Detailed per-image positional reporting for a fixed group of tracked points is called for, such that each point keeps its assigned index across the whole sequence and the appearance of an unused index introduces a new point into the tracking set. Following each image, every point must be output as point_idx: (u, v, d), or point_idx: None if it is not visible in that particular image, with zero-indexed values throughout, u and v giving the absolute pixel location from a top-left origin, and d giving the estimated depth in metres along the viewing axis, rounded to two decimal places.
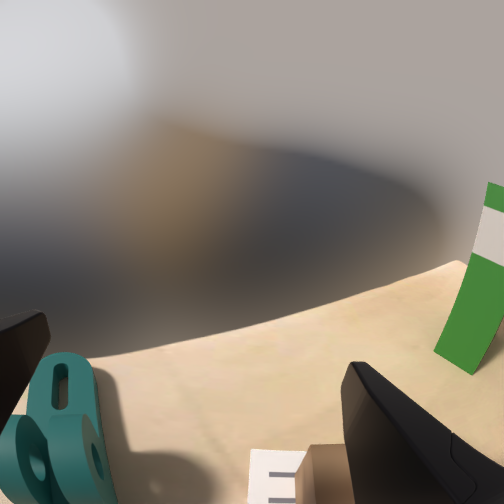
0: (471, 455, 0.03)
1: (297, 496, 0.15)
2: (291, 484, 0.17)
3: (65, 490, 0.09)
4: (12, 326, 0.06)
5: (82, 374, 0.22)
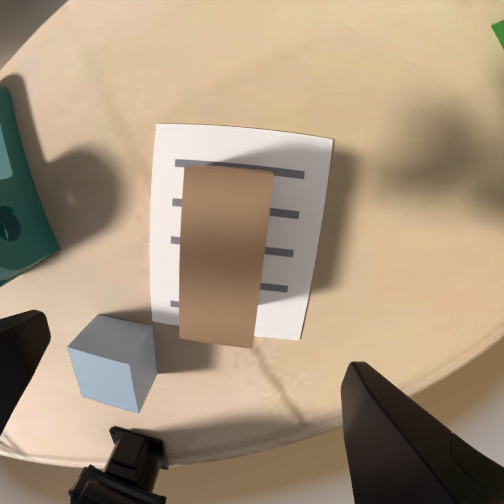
0: (471, 455, 0.03)
1: None
2: None
3: None
4: (12, 326, 0.06)
5: None
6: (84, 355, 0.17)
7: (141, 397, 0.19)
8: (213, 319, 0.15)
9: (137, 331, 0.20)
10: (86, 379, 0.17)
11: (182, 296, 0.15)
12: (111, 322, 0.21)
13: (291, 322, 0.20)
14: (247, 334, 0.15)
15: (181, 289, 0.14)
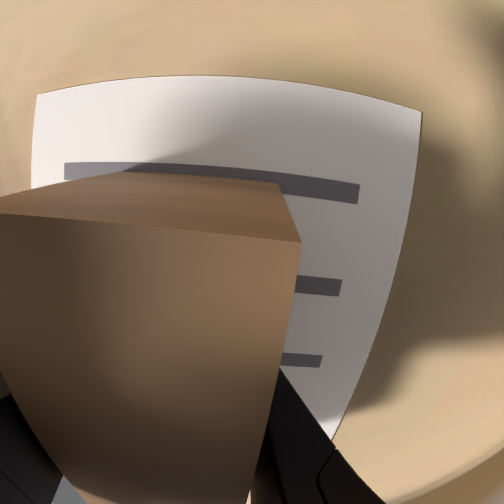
0: (346, 482, 0.03)
1: None
2: None
3: None
4: None
5: None
6: None
7: None
8: None
9: None
10: None
11: (77, 487, 0.04)
12: None
13: None
14: None
15: (70, 479, 0.04)
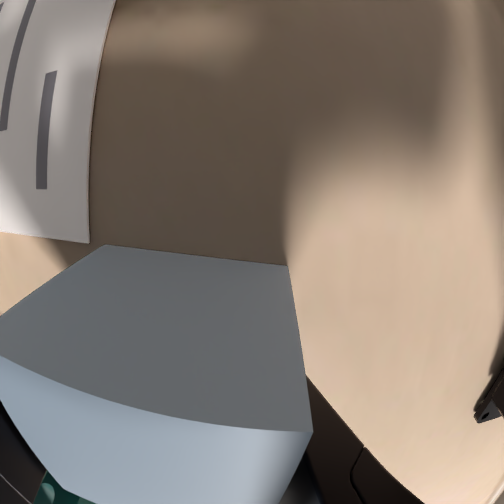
0: (378, 478, 0.03)
1: None
2: None
3: None
4: None
5: None
6: (50, 467, 0.04)
7: (238, 368, 0.04)
8: None
9: None
10: None
11: None
12: None
13: None
14: None
15: None
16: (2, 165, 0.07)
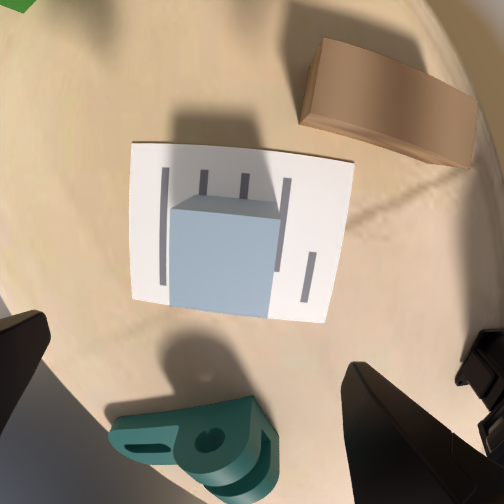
0: (471, 455, 0.03)
1: (339, 133, 0.16)
2: None
3: (253, 464, 0.18)
4: (12, 326, 0.06)
5: (125, 436, 0.24)
6: (174, 280, 0.14)
7: (261, 213, 0.14)
8: (453, 125, 0.11)
9: None
10: (223, 295, 0.14)
11: (433, 148, 0.12)
12: None
13: (330, 173, 0.17)
14: (466, 100, 0.11)
15: (427, 147, 0.12)
16: (273, 288, 0.19)
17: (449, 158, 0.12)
